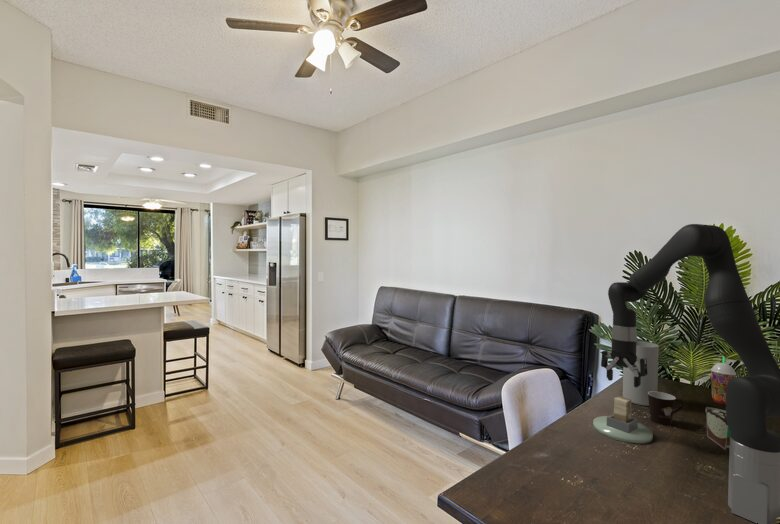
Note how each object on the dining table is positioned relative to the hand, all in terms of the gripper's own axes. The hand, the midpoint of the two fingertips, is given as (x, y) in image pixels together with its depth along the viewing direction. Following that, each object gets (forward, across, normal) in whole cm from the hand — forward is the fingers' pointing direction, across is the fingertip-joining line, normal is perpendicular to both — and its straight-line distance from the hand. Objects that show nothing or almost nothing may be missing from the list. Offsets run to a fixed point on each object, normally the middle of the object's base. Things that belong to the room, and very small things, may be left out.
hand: (623, 383), depth 133 cm
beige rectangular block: (+16, 0, 0) cm, 16 cm away
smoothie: (+17, +12, +67) cm, 70 cm away
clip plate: (+17, 0, 0) cm, 17 cm away
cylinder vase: (+17, -9, +38) cm, 43 cm away
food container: (+17, +24, +20) cm, 36 cm away
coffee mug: (+17, +6, +22) cm, 29 cm away
